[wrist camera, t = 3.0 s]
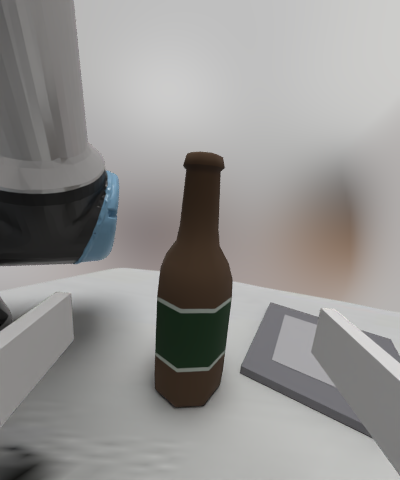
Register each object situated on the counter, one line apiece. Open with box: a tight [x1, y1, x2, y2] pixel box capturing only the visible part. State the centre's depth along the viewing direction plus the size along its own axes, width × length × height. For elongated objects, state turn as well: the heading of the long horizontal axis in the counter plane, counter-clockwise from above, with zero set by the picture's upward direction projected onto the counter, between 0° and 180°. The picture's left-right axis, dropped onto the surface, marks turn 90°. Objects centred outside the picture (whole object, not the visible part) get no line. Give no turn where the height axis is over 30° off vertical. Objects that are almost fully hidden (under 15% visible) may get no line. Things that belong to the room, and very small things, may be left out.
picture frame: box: [240, 302, 400, 437], centre depth 29 cm, size 18×18×1 cm
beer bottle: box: [155, 152, 232, 407], centre depth 21 cm, size 8×8×24 cm
